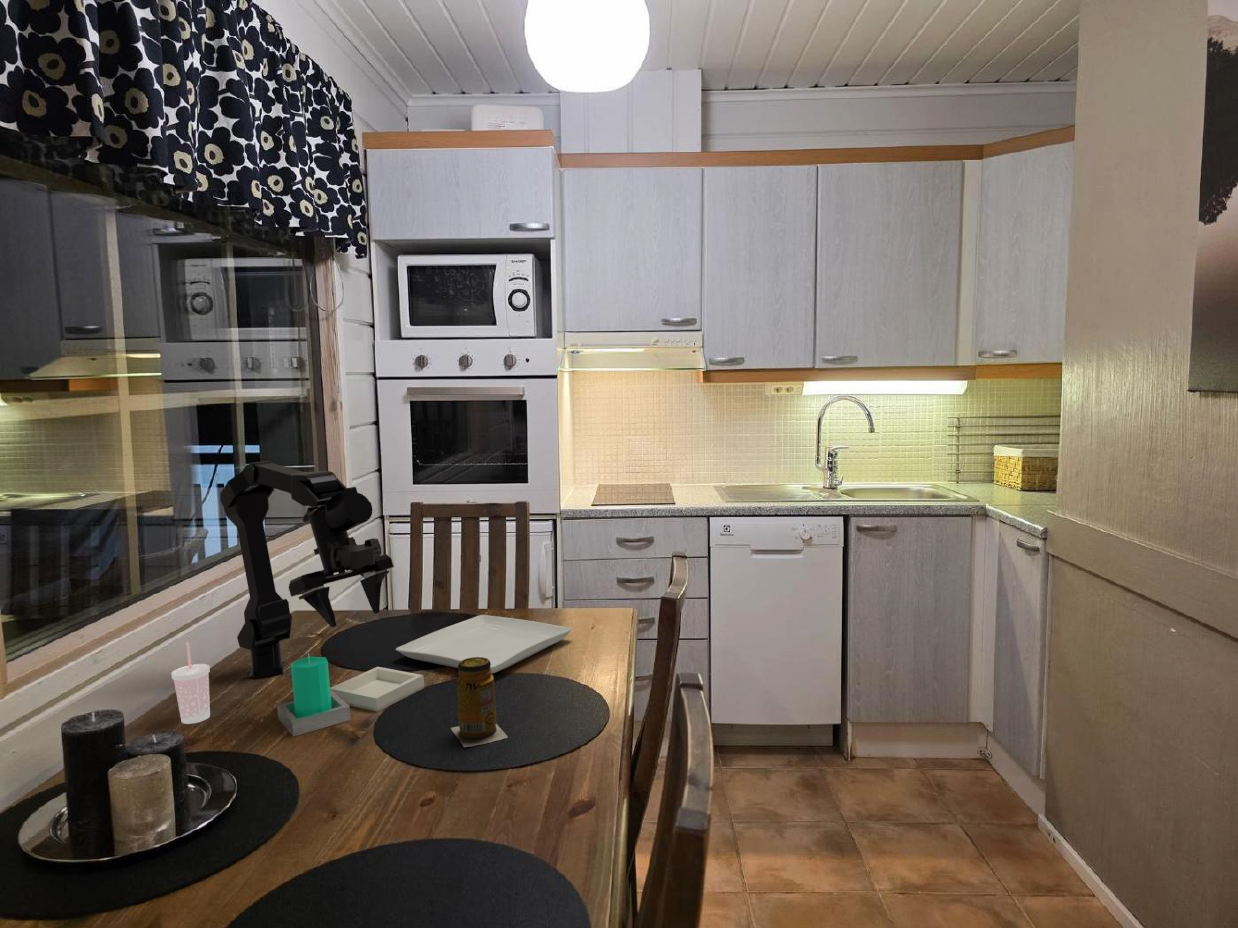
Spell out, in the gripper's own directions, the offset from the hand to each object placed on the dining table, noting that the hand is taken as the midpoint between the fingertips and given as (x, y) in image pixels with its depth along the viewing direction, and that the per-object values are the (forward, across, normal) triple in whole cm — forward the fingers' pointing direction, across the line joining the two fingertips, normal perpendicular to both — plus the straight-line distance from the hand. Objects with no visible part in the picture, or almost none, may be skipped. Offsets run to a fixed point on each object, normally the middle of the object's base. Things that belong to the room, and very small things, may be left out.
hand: (356, 619), depth 146 cm
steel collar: (+14, -9, +6) cm, 18 cm away
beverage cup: (+8, -20, +25) cm, 33 cm away
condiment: (+25, +2, -22) cm, 33 cm away
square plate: (+15, +31, +5) cm, 35 cm away
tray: (+14, +4, +6) cm, 16 cm away
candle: (+14, -9, +6) cm, 18 cm away
